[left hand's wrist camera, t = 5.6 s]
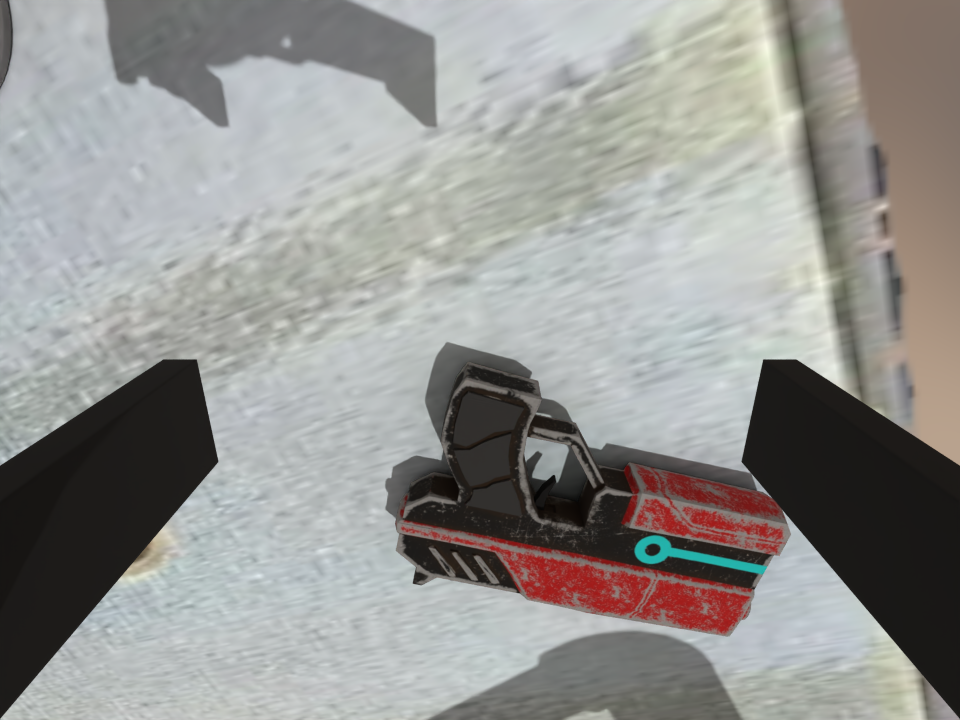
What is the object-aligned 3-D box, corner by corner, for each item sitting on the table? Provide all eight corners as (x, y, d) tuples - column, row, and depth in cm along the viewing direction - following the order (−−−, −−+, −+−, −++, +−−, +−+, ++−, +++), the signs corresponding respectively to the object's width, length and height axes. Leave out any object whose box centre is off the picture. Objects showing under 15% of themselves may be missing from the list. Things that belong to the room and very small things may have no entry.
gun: (424, 374, 36) (382, 584, 43) (847, 466, 38) (737, 651, 45) (432, 350, 40) (391, 545, 47) (811, 433, 42) (716, 608, 49)
